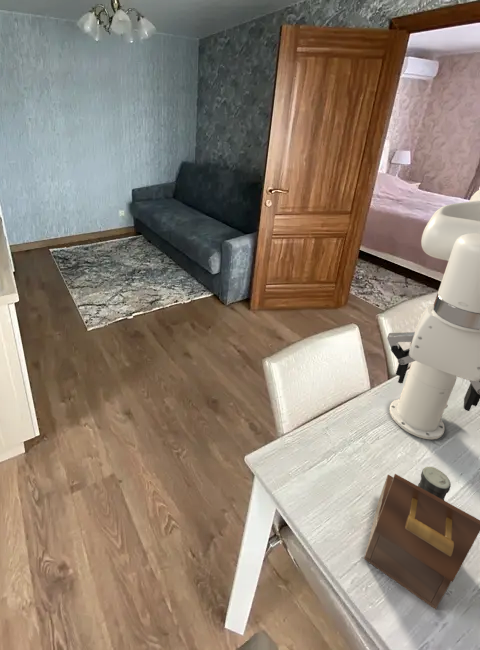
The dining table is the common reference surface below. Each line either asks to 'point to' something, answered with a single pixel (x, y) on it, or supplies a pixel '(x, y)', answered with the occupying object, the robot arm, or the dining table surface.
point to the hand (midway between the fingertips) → (432, 391)
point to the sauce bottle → (434, 482)
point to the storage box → (404, 563)
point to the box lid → (427, 527)
